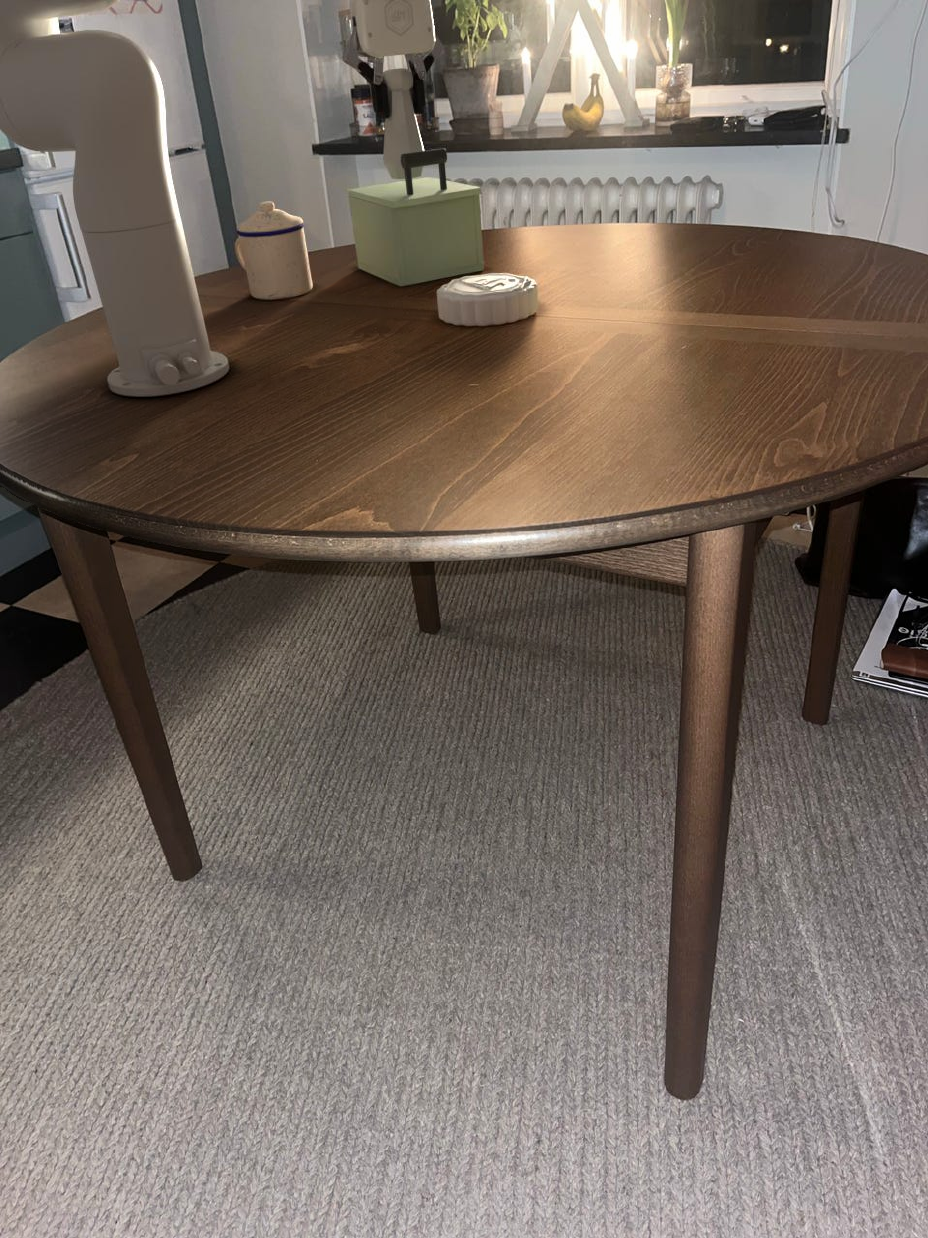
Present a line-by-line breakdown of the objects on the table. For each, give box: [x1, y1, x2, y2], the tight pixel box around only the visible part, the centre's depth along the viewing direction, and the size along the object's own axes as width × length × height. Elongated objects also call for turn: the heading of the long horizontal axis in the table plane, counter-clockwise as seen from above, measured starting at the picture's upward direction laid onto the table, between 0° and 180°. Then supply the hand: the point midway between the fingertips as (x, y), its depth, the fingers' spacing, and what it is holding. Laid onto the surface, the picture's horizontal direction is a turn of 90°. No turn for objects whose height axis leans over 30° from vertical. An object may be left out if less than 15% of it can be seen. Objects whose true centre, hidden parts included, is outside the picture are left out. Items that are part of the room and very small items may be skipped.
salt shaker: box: [382, 67, 425, 180], centre depth 127 cm, size 6×6×13 cm
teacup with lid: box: [234, 200, 314, 301], centre depth 129 cm, size 12×9×12 cm
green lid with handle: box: [347, 147, 483, 208], centre depth 129 cm, size 17×13×6 cm
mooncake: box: [436, 272, 539, 327], centre depth 112 cm, size 12×12×4 cm
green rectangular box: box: [348, 194, 485, 287], centre depth 134 cm, size 16×13×10 cm
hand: (400, 114), depth 127 cm, fingers closed on salt shaker, 4 cm apart
